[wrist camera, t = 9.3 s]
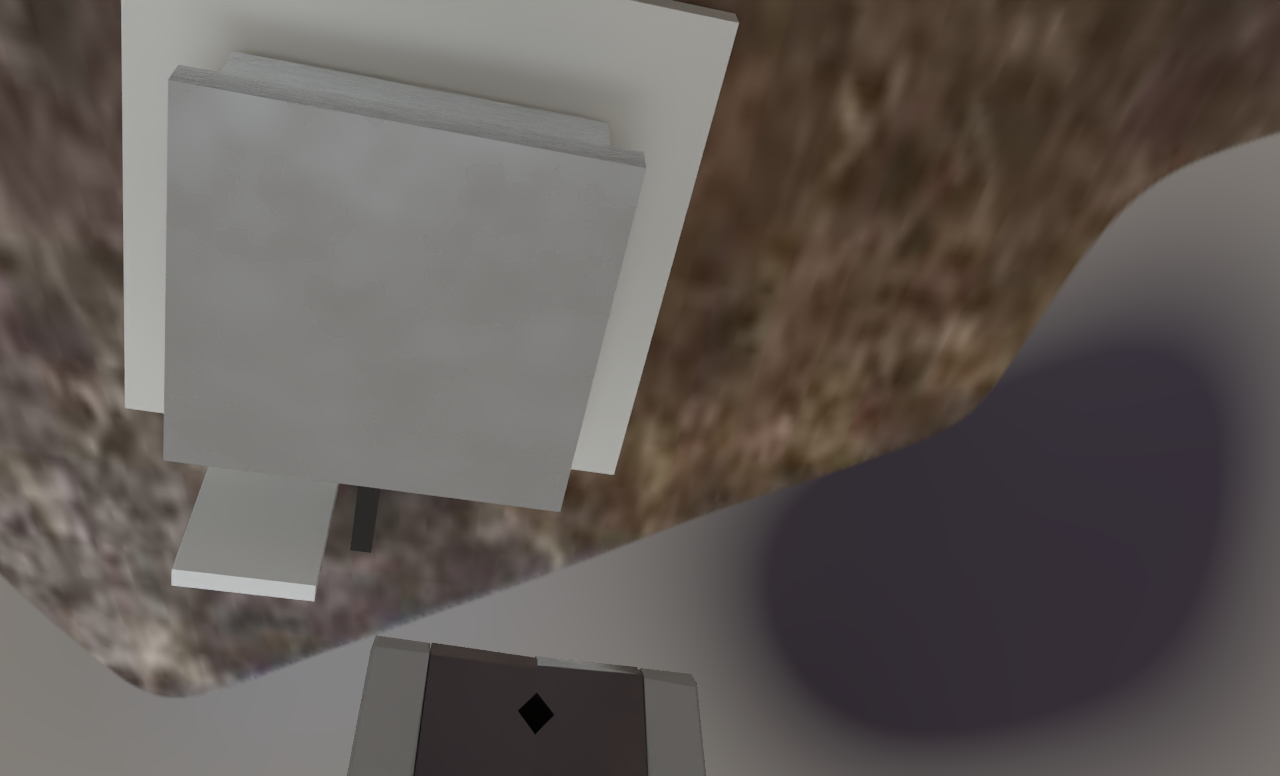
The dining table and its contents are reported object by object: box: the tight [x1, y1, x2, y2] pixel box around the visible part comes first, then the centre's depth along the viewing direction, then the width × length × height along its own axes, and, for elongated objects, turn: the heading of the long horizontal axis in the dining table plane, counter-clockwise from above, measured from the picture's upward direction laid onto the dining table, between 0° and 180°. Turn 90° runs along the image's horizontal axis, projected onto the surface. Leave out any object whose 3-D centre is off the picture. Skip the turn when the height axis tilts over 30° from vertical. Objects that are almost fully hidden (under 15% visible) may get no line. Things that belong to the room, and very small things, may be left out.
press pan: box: [163, 51, 646, 553], centre depth 43 cm, size 14×19×5 cm
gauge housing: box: [121, 0, 739, 601], centre depth 43 cm, size 20×22×9 cm
